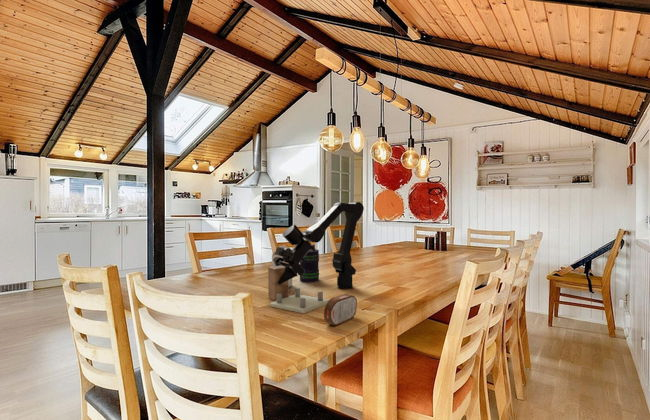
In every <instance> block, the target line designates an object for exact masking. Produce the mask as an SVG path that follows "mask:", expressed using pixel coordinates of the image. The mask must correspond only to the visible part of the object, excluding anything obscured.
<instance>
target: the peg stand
mask: <svg viewBox="0 0 650 420" xmlns="http://www.w3.org/2000/svg"><path fill="white" fill-rule="evenodd" d="M323 296H324V293H323V291H317V297H316V296H309V295H304V294H301V288H300V287H297V288H294V294H292V295H288V297H286V298H283V299H282V294H277V301H272V302H269V307H271V308H277V309H280V310H286V311H289V312H290V311H291V312H296V313H301V314H306V313H308V312H311V311H313V310H316V309H318V308H320V307H323V306H326V304H327V302H328V301H329V300H330V299H328V298H324V297H323Z"/></svg>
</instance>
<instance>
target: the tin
mask: <svg viewBox="0 0 650 420" xmlns="http://www.w3.org/2000/svg"><path fill="white" fill-rule="evenodd" d="M328 300H329V301H328V302H327V304H325V305H324V310H323V319H324V321H325V323H326V324H329V325H332V326H338V325H340V324H343V323H345V322H348V321H349V320H352V319H353V318H354V316H355V315H356V313H357V308H358V300H357V298H356V296H355V295H353V294H349V293H344V294H339V295H337V296H334V297H331V298H329V299H328Z"/></svg>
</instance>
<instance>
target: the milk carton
mask: <svg viewBox="0 0 650 420" xmlns="http://www.w3.org/2000/svg"><path fill="white" fill-rule="evenodd" d="M278 247H281V248H284V249H285V248H286V247H287V246H286V244H282V245H279V246H278ZM275 257H281V258H282V256H279V255H276V254H275V252H273V253H272V254H271V267H272V266H275V262H274V261H273V259H274V258H275ZM284 261H285V260H284ZM292 286H293V278H291V279H289V280H288V288H290V287H292Z"/></svg>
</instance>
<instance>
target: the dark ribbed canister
mask: <svg viewBox="0 0 650 420" xmlns="http://www.w3.org/2000/svg"><path fill="white" fill-rule="evenodd" d="M319 252H320V249H316V248H315V252H314V251H310V250H309V252H308V253H307V254H306V255H305V257H304V259H305V260H304V261H301V262H300V263H299V264H300V265H301V266H302V267H303V268H304V269H305V273H304V274H303V275H302V276H300V275H299V282H302V283H316V282H319V281H320V270H319V269H320V268H319V262H320V253H319Z"/></svg>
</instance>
